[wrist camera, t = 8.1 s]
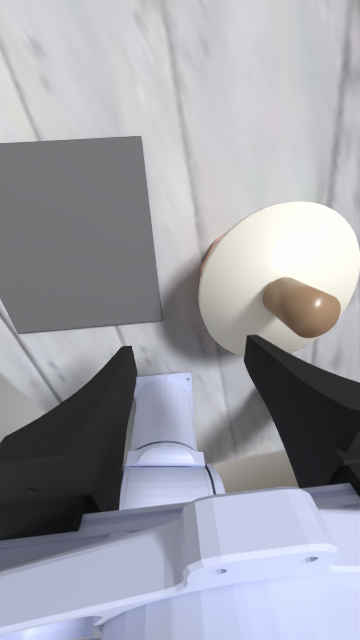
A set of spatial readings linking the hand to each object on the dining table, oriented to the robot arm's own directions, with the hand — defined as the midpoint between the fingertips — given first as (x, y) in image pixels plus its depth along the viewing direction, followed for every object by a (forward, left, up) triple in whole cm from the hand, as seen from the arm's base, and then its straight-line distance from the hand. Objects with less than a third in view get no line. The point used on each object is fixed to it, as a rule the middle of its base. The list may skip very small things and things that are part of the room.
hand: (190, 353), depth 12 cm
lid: (+2, -8, -5) cm, 10 cm away
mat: (+6, +10, -10) cm, 16 cm away
